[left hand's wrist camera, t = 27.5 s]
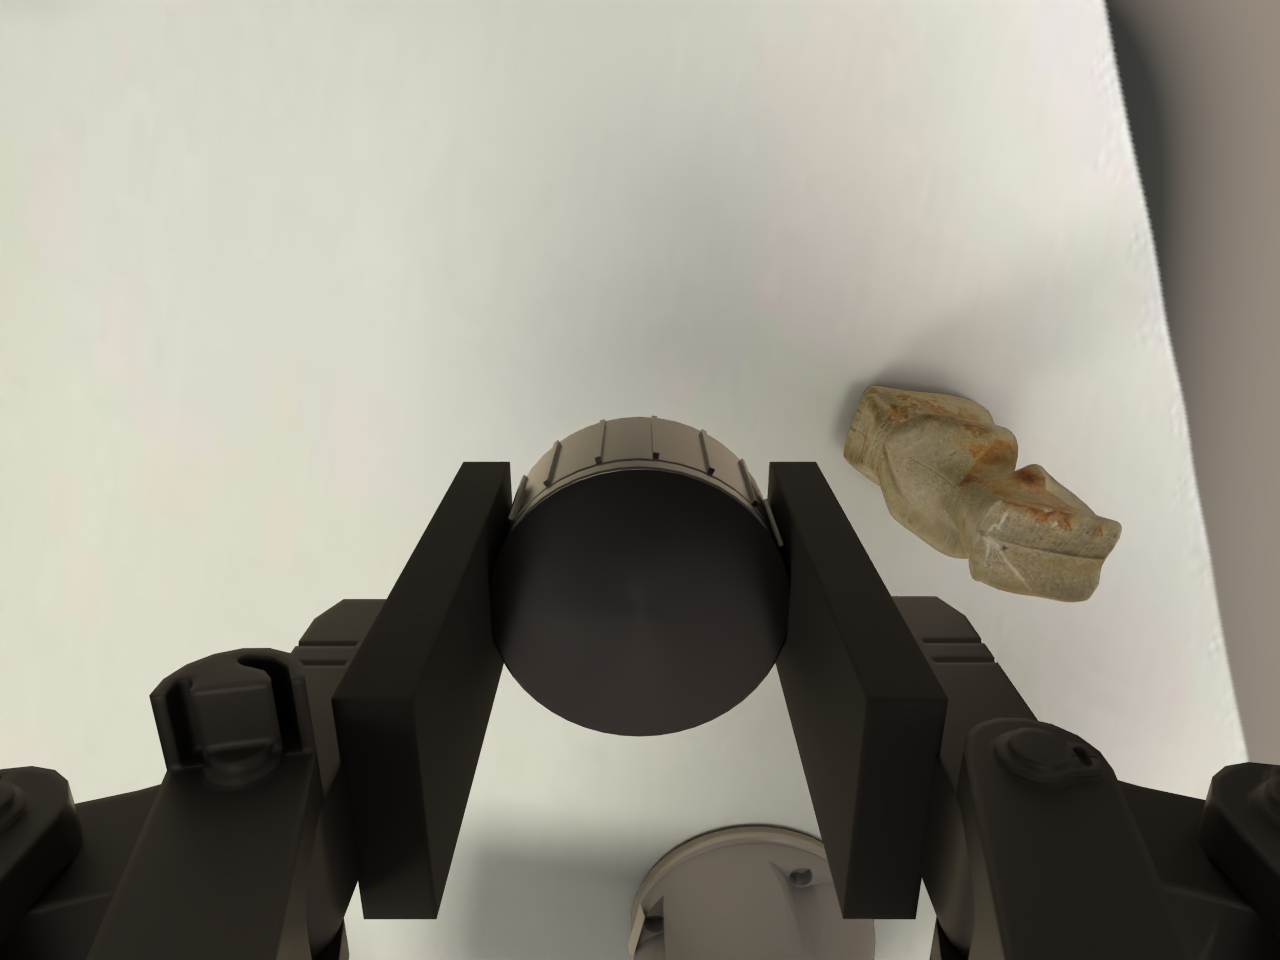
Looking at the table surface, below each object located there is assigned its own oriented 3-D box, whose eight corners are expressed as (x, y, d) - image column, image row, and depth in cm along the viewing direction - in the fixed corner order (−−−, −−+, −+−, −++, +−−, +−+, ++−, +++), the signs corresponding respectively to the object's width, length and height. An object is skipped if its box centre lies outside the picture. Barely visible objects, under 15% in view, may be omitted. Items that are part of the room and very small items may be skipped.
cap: (470, 451, 14) (437, 508, 12) (739, 380, 14) (759, 426, 11) (551, 678, 15) (536, 766, 13) (795, 620, 15) (823, 701, 13)
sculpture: (947, 496, 46) (1083, 649, 32) (818, 457, 45) (899, 598, 31) (995, 393, 44) (1163, 508, 30) (861, 351, 43) (969, 449, 29)
